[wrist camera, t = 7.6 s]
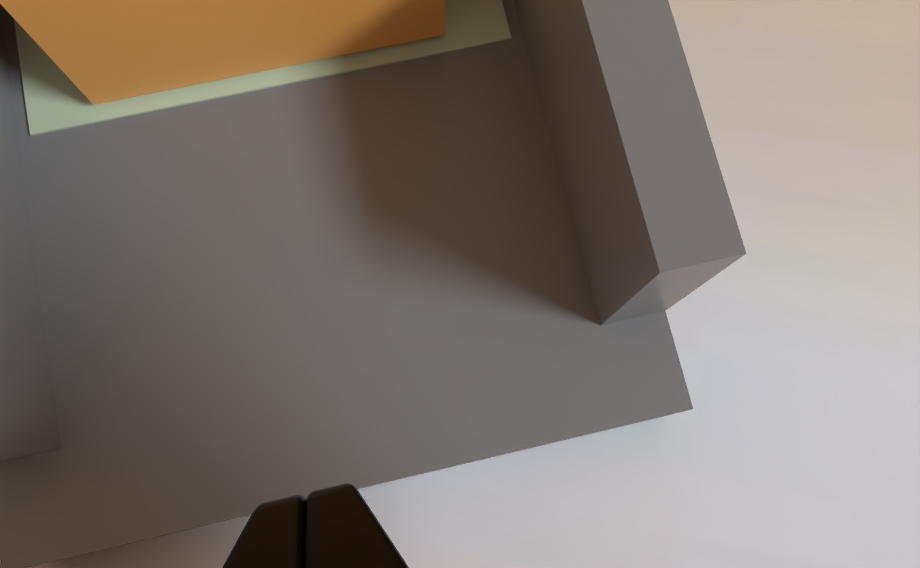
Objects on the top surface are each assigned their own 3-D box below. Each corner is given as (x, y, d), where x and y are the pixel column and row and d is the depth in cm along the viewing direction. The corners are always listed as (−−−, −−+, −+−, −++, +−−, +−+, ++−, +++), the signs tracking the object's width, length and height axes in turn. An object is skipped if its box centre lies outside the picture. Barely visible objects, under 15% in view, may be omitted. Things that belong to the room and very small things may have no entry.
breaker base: (666, 415, 14) (786, 385, 9) (49, 562, 14) (-168, 611, 9) (526, -90, 16) (565, -332, 11) (-23, 14, 15) (-232, -197, 11)
